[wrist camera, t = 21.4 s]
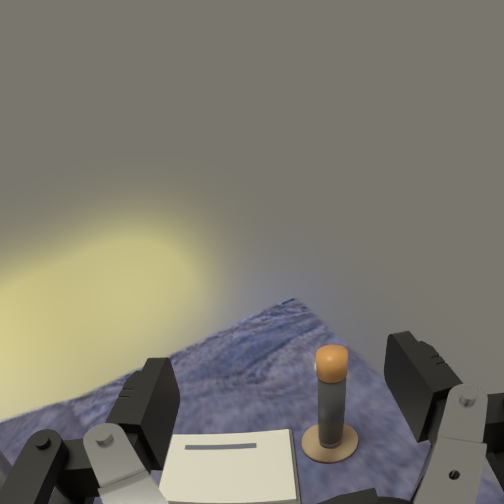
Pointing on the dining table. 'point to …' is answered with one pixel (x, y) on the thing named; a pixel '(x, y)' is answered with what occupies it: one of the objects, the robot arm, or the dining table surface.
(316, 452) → the coaster
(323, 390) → the marker
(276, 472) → the notepad
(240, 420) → the dining table surface
